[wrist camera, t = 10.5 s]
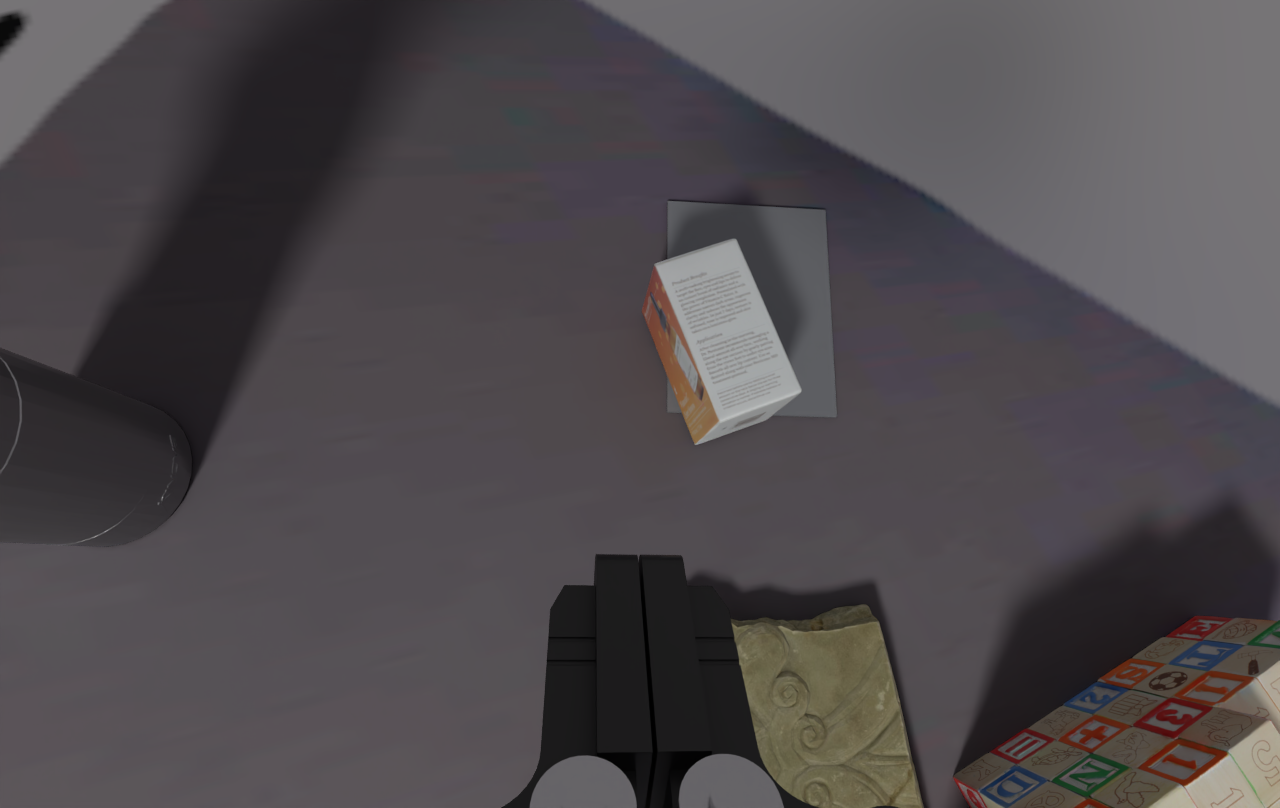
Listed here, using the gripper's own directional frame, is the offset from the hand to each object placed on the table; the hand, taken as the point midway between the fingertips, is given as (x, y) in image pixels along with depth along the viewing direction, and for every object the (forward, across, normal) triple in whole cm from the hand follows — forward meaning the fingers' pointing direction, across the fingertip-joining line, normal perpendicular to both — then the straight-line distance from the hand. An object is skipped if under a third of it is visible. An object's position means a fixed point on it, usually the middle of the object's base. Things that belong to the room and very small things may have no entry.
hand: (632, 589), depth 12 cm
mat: (+37, -11, +11) cm, 40 cm away
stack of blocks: (+17, -34, +31) cm, 49 cm away
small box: (+27, -10, +14) cm, 32 cm away
